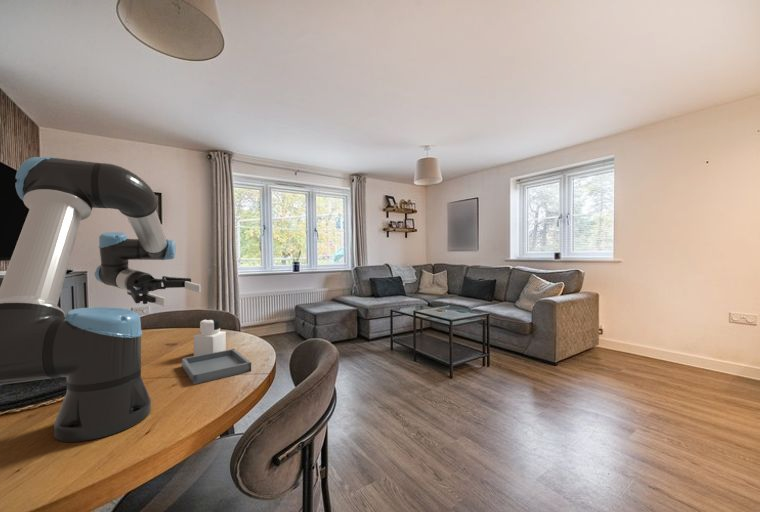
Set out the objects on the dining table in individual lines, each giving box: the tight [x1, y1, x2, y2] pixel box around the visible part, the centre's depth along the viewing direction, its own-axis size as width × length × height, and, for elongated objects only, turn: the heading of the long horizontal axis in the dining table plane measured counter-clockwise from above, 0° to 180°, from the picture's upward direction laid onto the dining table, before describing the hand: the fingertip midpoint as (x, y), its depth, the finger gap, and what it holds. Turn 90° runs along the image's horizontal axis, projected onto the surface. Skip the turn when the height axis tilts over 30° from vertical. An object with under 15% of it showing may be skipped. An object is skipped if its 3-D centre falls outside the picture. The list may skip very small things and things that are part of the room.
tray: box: [181, 348, 252, 385], centre depth 95 cm, size 17×15×2 cm
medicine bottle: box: [193, 318, 227, 356], centre depth 108 cm, size 7×7×12 cm
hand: (183, 294), depth 106 cm, fingers open, 13 cm apart
